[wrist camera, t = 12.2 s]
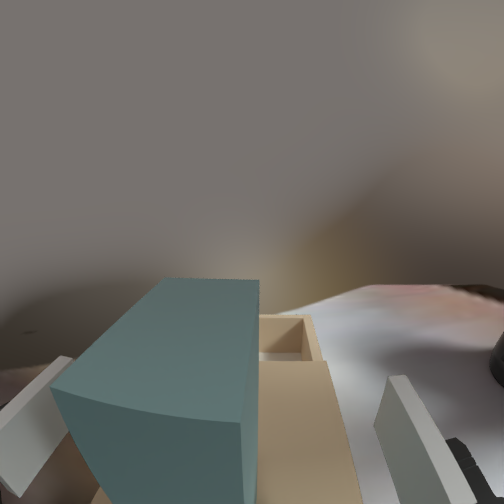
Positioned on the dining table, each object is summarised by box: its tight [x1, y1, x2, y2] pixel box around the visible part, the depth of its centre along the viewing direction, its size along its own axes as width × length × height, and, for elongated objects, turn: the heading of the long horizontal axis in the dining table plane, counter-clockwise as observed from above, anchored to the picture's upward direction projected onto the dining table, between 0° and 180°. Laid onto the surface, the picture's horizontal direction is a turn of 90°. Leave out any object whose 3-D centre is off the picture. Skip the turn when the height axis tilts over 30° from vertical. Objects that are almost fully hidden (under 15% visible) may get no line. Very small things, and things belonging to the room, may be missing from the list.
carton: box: [259, 315, 323, 361], centre depth 28 cm, size 20×14×6 cm
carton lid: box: [49, 278, 363, 504], centre depth 14 cm, size 20×14×12 cm
